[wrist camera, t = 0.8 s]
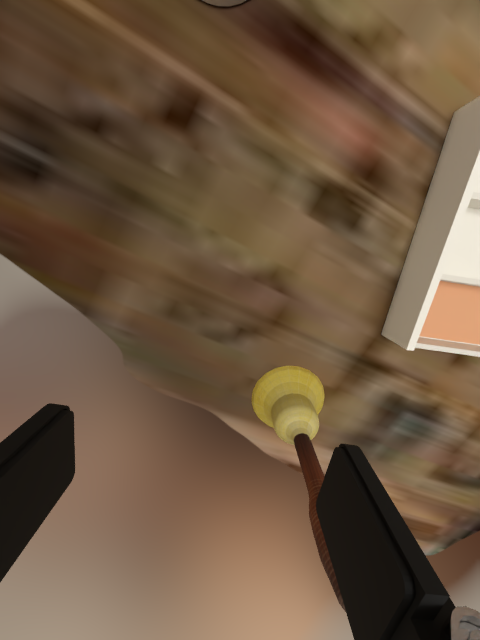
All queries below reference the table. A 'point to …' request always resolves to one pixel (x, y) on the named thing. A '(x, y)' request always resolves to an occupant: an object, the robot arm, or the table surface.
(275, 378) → the handbell
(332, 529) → the robot arm
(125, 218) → the table surface
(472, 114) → the rack
